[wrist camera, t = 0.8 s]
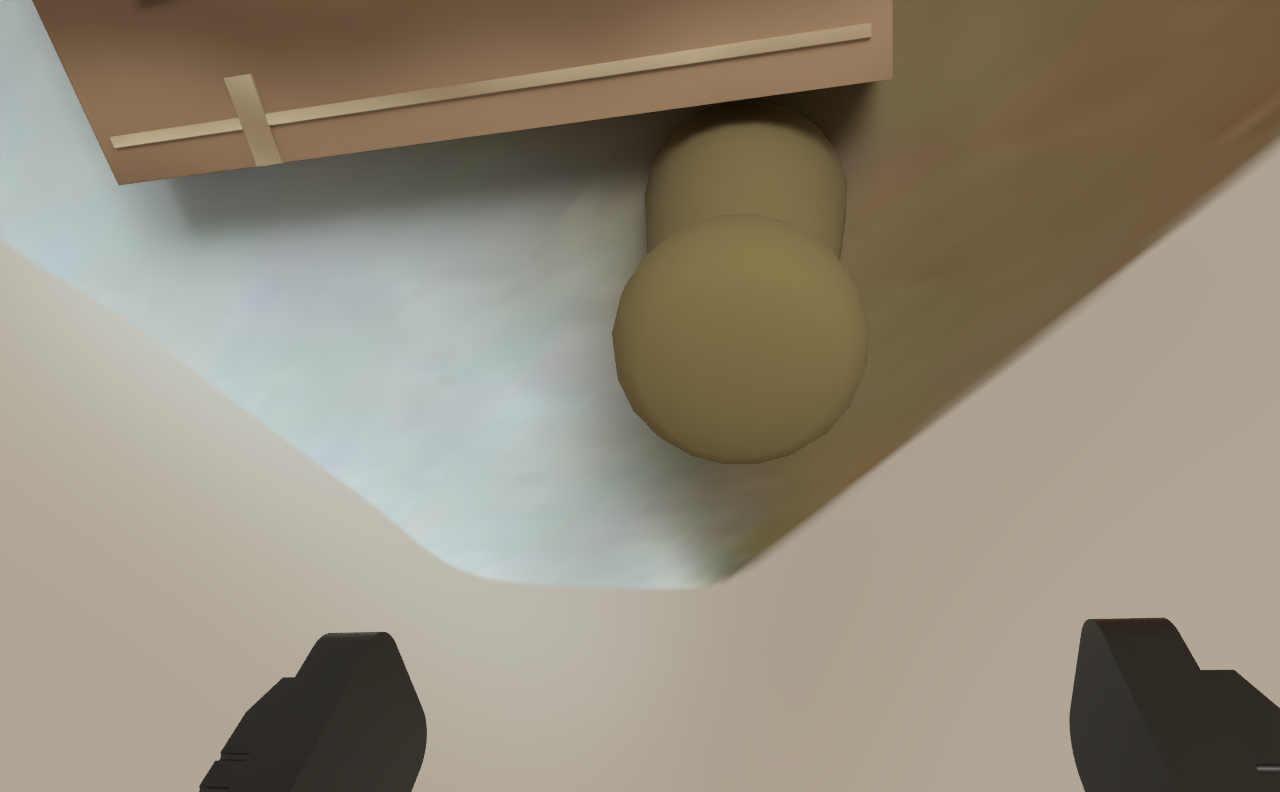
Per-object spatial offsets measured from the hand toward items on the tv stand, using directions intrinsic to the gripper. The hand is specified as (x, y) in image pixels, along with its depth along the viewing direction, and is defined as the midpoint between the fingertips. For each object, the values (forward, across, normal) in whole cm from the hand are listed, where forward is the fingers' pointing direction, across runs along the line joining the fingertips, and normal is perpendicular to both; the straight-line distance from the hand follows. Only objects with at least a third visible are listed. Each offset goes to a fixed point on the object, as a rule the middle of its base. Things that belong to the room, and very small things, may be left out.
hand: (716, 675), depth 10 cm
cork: (+18, 0, 0) cm, 18 cm away
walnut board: (+18, +7, -8) cm, 21 cm away
